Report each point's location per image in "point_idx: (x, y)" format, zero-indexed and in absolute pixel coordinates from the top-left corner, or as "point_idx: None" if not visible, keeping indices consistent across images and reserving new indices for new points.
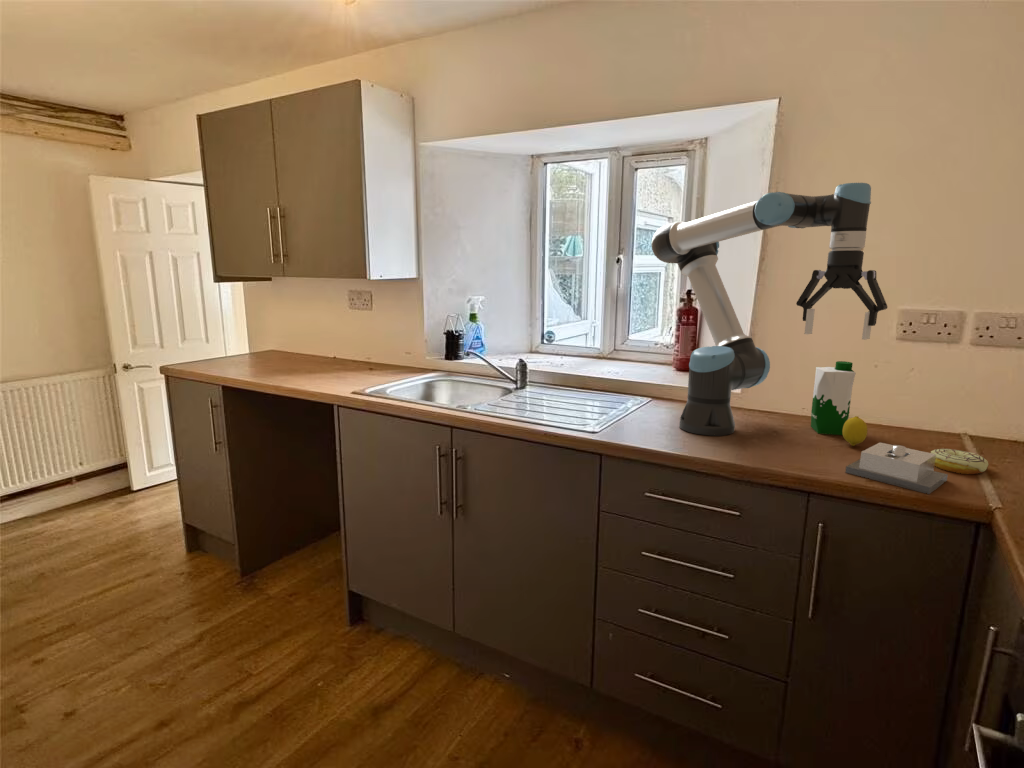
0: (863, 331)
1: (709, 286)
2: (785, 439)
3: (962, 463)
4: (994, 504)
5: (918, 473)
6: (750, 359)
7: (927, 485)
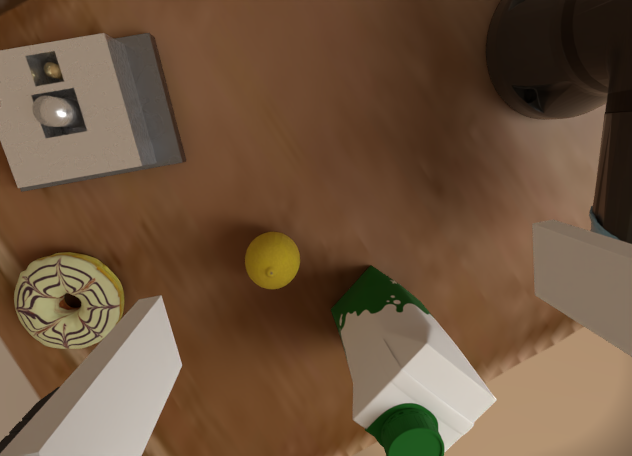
0: (135, 323)
1: None
2: (384, 151)
3: (30, 263)
4: None
5: None
6: None
7: None
